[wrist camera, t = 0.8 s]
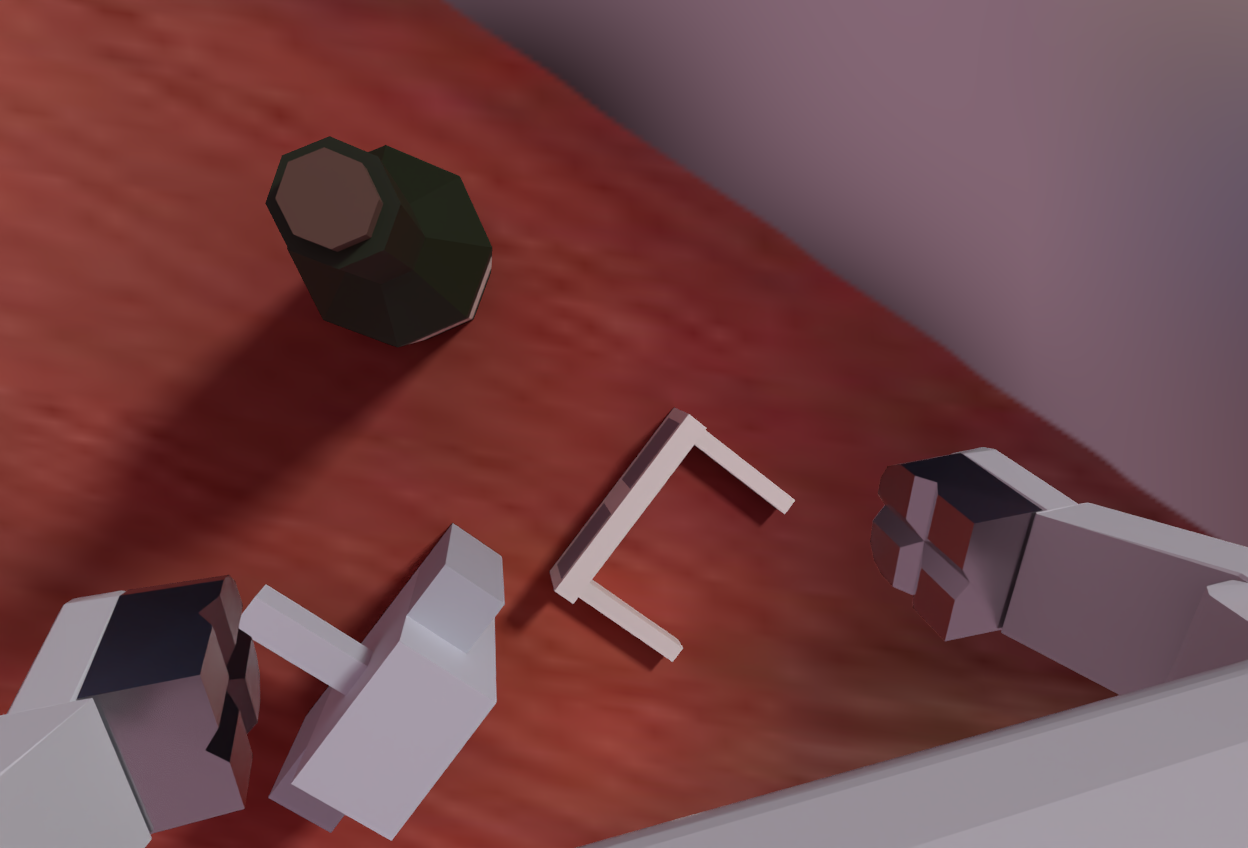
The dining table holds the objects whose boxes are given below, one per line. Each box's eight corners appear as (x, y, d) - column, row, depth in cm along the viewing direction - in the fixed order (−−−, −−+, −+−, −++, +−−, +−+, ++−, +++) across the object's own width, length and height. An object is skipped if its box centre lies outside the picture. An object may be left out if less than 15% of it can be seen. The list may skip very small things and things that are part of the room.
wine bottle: (493, 337, 50) (500, 358, 21) (359, 340, 49) (165, 368, 20) (488, 205, 49) (487, 31, 20) (350, 204, 48) (131, 16, 18)
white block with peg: (525, 573, 53) (537, 648, 40) (382, 761, 53) (350, 894, 40) (362, 461, 50) (321, 506, 38) (211, 660, 50) (121, 770, 38)
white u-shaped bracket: (787, 495, 55) (809, 508, 51) (667, 652, 55) (681, 678, 51) (673, 407, 53) (688, 414, 49) (549, 571, 53) (554, 591, 49)
